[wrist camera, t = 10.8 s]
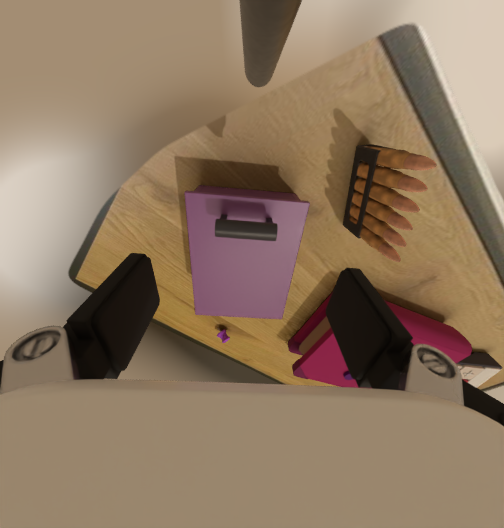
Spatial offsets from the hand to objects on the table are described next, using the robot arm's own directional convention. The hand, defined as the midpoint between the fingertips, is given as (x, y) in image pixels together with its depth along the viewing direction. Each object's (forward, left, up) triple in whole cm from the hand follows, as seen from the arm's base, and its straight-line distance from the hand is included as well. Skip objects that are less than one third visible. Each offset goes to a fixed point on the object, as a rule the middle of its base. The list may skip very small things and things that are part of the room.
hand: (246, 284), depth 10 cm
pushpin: (+30, -3, -21) cm, 37 cm away
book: (+29, +28, -21) cm, 45 cm away
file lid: (+8, 0, -15) cm, 17 cm away
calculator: (+39, +54, -21) cm, 70 cm away
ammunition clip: (-1, +15, -21) cm, 26 cm away
